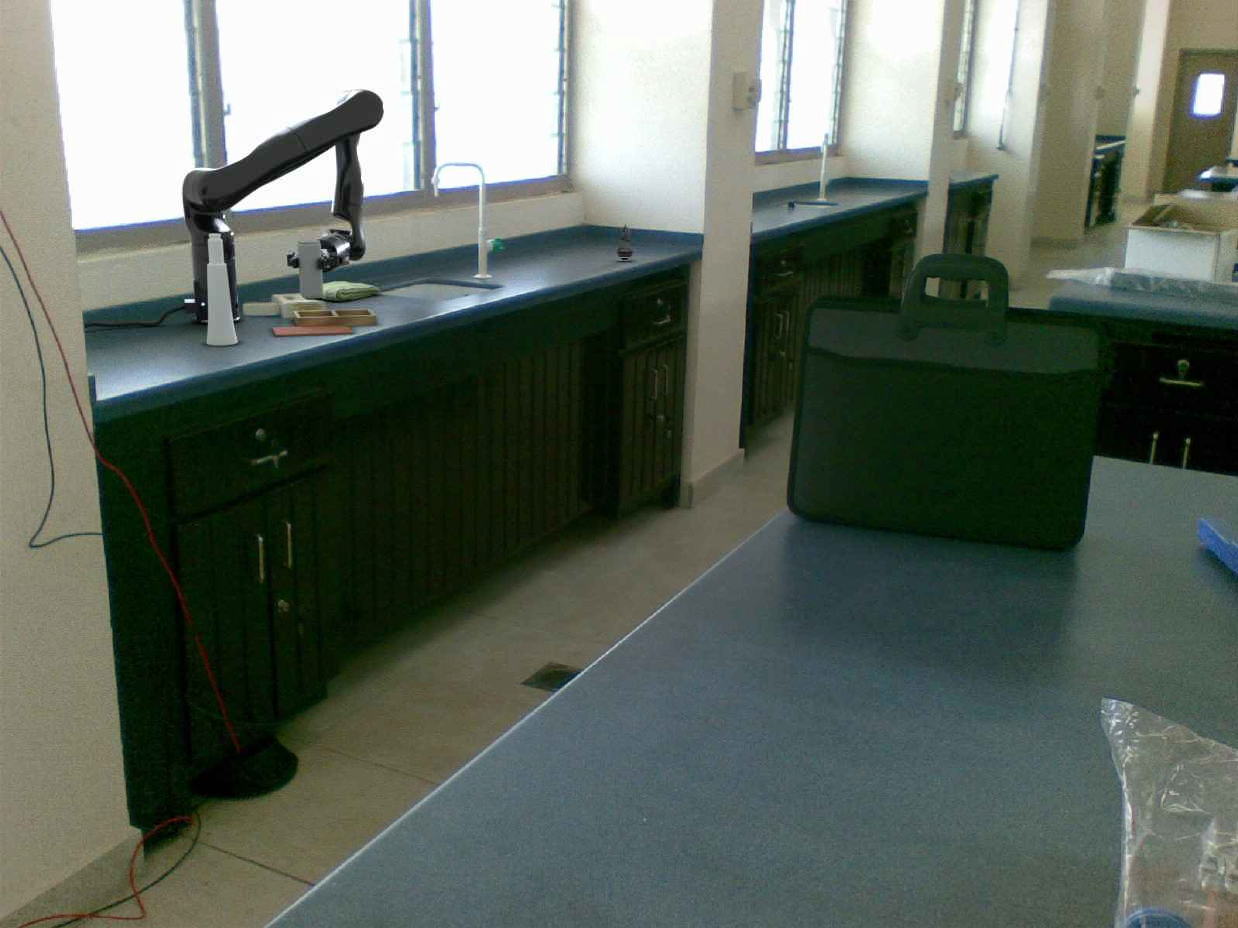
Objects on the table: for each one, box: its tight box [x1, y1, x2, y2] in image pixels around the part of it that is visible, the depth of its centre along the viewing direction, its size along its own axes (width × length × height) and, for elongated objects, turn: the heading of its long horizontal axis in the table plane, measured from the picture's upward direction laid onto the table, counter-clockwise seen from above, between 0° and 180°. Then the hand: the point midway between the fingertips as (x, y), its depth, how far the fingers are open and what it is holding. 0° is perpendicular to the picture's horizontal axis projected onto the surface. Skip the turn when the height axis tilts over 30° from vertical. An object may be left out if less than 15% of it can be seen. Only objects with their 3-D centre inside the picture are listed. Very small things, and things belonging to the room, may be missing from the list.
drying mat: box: [272, 325, 354, 338], centre depth 260 cm, size 16×9×1 cm, turn 110°
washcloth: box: [321, 280, 380, 302], centre depth 308 cm, size 13×18×3 cm
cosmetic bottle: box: [206, 234, 238, 347], centre depth 242 cm, size 6×6×22 cm
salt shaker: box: [615, 223, 635, 260], centre depth 395 cm, size 6×6×12 cm
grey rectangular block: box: [296, 239, 324, 300], centre depth 256 cm, size 5×5×12 cm
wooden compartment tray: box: [293, 308, 378, 327], centre depth 271 cm, size 17×9×2 cm, turn 110°
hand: (307, 263), depth 253 cm, fingers closed on grey rectangular block, 5 cm apart
